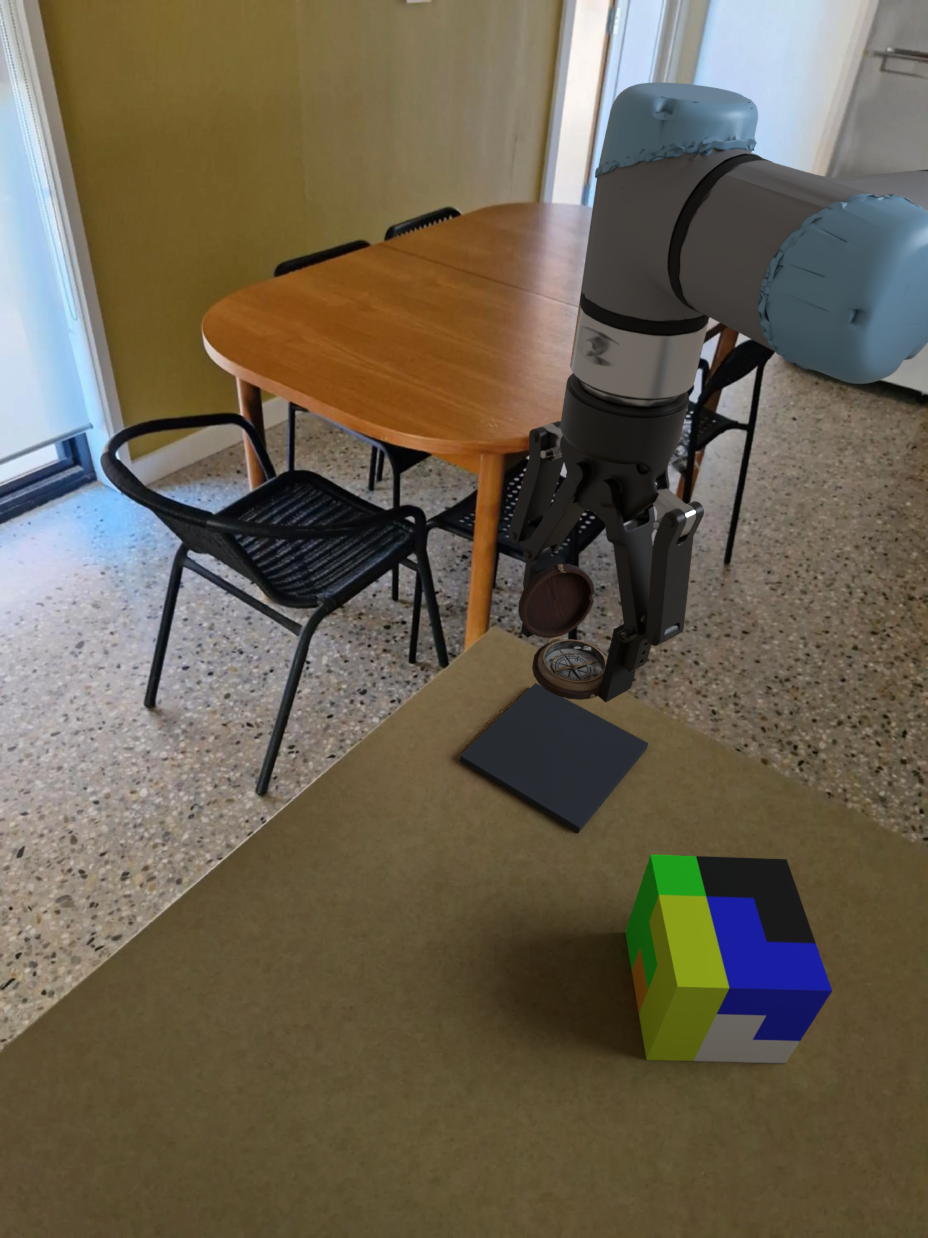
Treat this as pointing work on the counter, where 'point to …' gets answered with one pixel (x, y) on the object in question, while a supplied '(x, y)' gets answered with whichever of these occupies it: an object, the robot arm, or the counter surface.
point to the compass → (562, 632)
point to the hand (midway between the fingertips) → (574, 659)
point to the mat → (555, 756)
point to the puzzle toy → (723, 960)
